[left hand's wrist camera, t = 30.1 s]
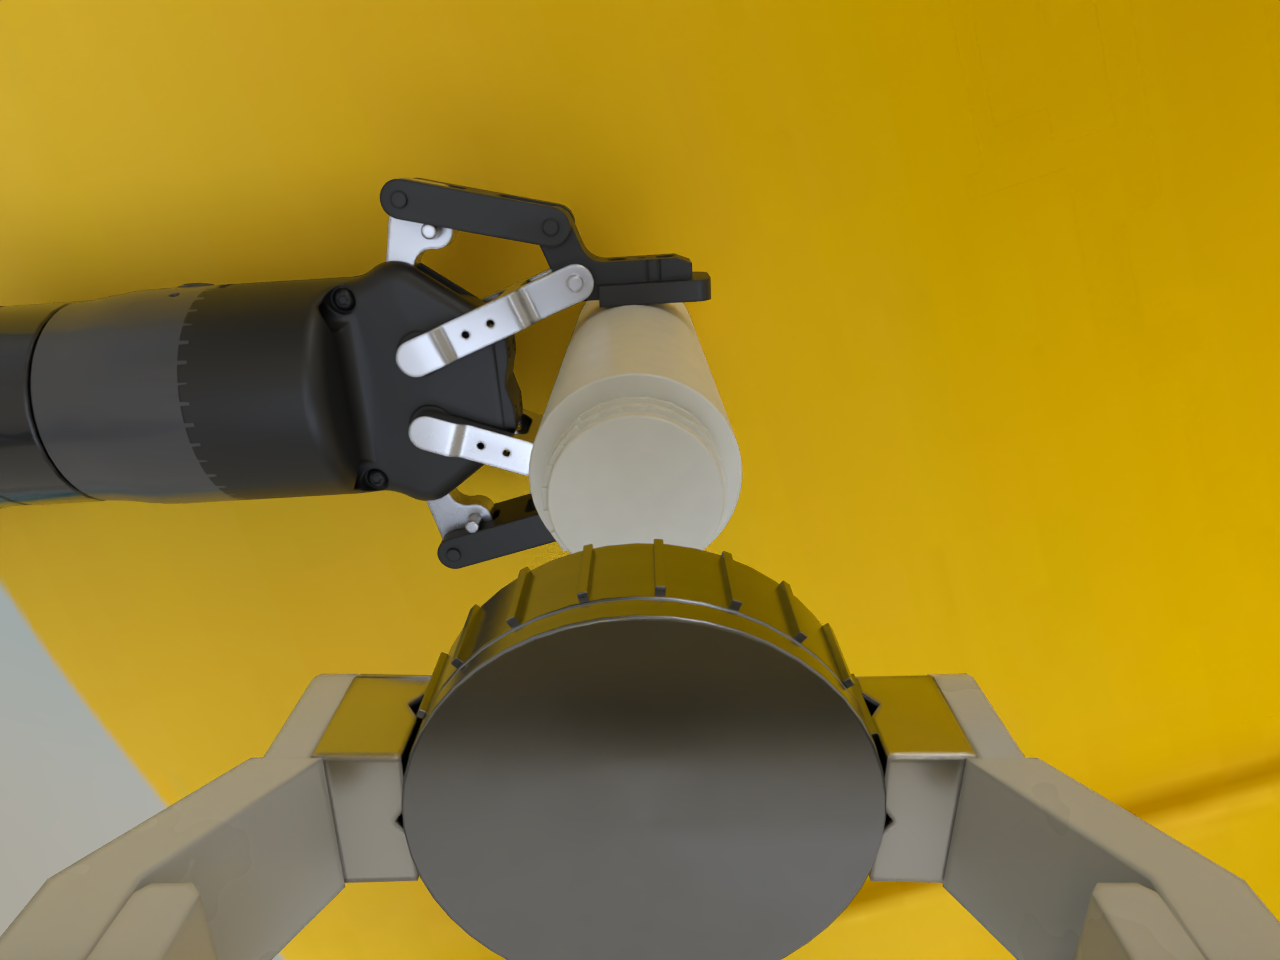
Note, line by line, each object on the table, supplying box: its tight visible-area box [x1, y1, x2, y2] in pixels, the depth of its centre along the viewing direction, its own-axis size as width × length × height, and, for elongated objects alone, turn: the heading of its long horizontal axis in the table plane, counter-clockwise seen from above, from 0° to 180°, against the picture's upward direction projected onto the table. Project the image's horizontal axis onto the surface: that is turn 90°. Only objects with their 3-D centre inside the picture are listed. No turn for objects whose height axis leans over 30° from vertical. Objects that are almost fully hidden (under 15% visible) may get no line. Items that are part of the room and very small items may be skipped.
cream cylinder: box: [529, 300, 742, 554], centre depth 26 cm, size 5×5×18 cm
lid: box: [401, 539, 887, 960], centre depth 10 cm, size 5×5×2 cm
